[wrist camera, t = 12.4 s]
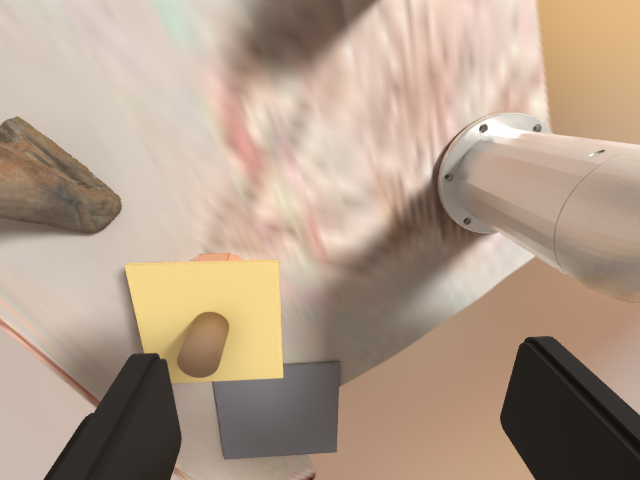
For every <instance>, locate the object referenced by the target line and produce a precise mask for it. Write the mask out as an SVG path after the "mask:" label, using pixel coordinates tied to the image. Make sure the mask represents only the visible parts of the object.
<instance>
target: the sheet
mask: <svg viewBox="0 0 640 480" xmlns="http://www.w3.org/2000/svg"><path fill="white" fill-rule="evenodd" d="M125 270H126V275H127V279H128V284H129V288H130V293H131V297H132V302H133V306H134V310H135V315H136V319H137V324H138V328H139V333H140V337H141V342H142V346H143V350H144V353H158V355H159V356H160V359H166V361H167V364H168V369H169V375H170V380H171V383H191V382H212V381H232V380H253V379H273V378H283V352H282V328H281V304H280V280H279V259H277V260H236V261H196V262H155V263H127V264H126V265H125Z"/></svg>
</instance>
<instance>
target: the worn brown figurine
mask: <svg viewBox="0 0 640 480" xmlns="http://www.w3.org/2000/svg"><path fill="white" fill-rule="evenodd" d="M120 200H121V199H120V198H119V196H118V195H117V194H116V193H114V192H113V191H112V190H111V188H109V187H108V186H107V185H106V184H104V183H103V182H102V181H101V180H99V179H98V178H95V177H94V175H93V173H91V172H89V170H88V169H87V167H85V166H84V165H82V164H81V163H80V162H78V160H76V159H75V158H72V156H71V155H70V154H68V153H66V152H65V151H64V150H63V149H62V148H60V147H58V145H57V144H55V143H54V142H53V141H52V140H50V139H49V138H47V137H46V136H45V135H43V134H41V133H40V132H38V131H37V130H36V129H34V127H32V126H31V125H30V124H28V123H27V122H25V121H24V120H23V119H21V118H20V117H15V118H13V119H8V120H6V121H4V122H3V123H2V124H1V125H0V217H1V218H7V219H13V220H18V221H24V222H31V223H38V224H48V225H51V226H55V227H60V228H64V229H70V230H75V231H80V232H85V233H92V232H96V231H98V230H100V229H102V228H104V227H105V226H106V225H108V224H109V223H110V222H111V221H113V220H114V219H115V217H116V216H117V215H118V214H119V213H120V211H121V207H122V206H121V202H120Z"/></svg>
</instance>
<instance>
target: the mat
mask: <svg viewBox="0 0 640 480" xmlns="http://www.w3.org/2000/svg"><path fill="white" fill-rule="evenodd" d="M339 367H340V364H339V362H317V363H296V364H283V378H273V379H253V380H232V381H213V382H214V390H215V397H216V404H217V411H218V418H219V426H220V433H221V440H222V447H223V455H224V459H238V458H254V457H269V456H285V455H300V454H314V453H315V454H316V453H331V452H337V423H338V394H339Z"/></svg>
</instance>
